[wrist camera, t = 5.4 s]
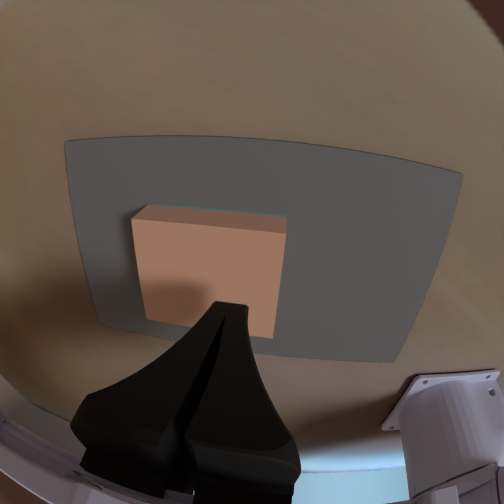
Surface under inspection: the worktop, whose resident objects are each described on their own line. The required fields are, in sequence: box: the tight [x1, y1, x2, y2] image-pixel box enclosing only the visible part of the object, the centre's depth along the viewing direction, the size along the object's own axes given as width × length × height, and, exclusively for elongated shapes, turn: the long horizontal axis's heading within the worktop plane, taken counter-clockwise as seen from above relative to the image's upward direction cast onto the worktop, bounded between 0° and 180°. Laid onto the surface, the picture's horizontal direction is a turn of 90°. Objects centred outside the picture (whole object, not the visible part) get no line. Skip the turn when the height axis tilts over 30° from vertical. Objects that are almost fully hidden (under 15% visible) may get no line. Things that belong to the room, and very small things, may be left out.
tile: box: [131, 204, 287, 338], centre depth 15 cm, size 2×6×7 cm
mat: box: [65, 135, 463, 363], centre depth 16 cm, size 21×13×1 cm, turn 87°
